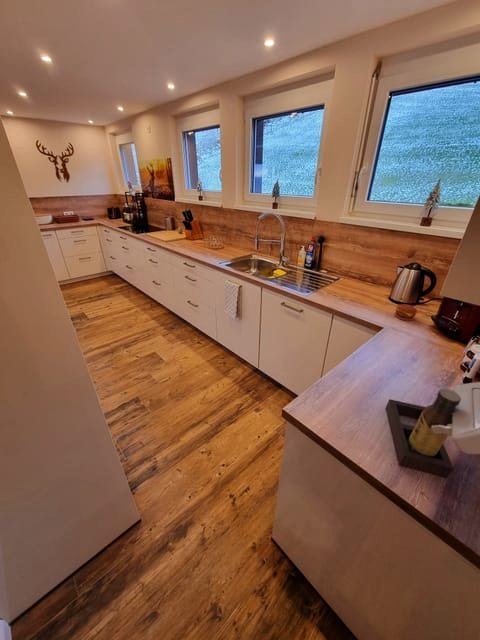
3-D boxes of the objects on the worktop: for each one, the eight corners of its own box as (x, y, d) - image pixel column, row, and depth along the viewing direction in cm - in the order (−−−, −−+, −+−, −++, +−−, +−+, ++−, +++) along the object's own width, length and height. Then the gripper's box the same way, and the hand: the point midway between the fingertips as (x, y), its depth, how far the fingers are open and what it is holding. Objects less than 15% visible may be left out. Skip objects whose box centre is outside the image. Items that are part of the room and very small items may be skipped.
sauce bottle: (411, 435, 72) (439, 380, 63) (437, 452, 68) (471, 395, 59) (402, 448, 69) (430, 391, 59) (428, 466, 65) (463, 408, 55)
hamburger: (408, 323, 133) (413, 311, 130) (390, 315, 140) (394, 304, 136) (417, 318, 138) (422, 307, 134) (399, 311, 144) (403, 300, 141)
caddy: (423, 416, 80) (428, 407, 78) (446, 478, 64) (453, 468, 62) (385, 408, 83) (389, 398, 81) (398, 465, 66) (404, 455, 64)
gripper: (495, 370, 61) (430, 384, 71) (505, 429, 46) (421, 436, 56) (510, 393, 61) (443, 403, 70) (526, 459, 46) (438, 461, 56)
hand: (433, 418), depth 63 cm, fingers closed on sauce bottle, 6 cm apart
